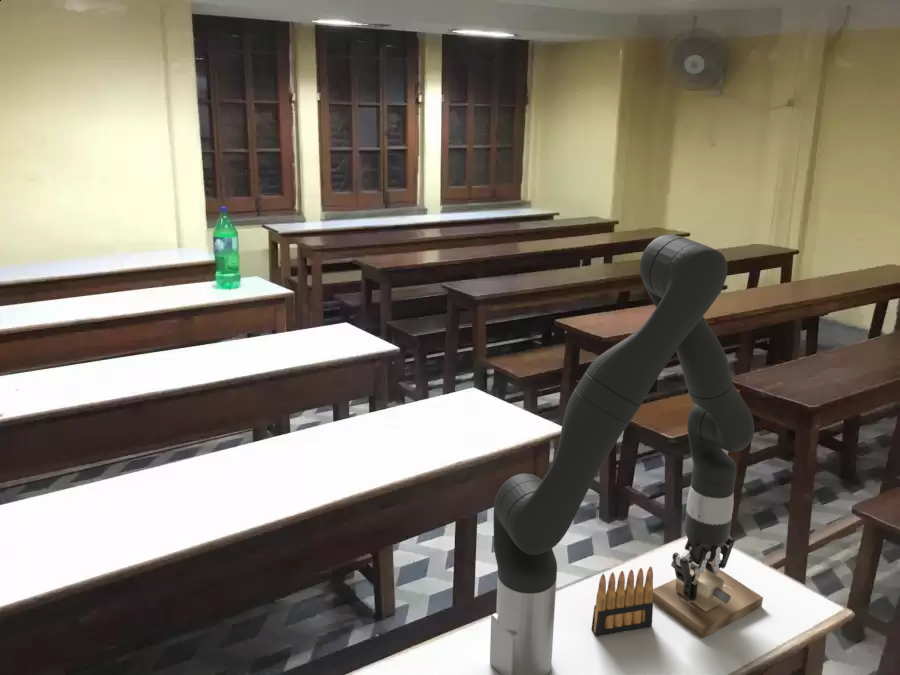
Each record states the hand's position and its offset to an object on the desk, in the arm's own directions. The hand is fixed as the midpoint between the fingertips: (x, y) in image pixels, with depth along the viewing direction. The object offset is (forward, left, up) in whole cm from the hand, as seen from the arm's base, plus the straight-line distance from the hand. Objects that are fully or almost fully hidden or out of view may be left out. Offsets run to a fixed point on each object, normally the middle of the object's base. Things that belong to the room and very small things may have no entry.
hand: (698, 593), depth 133 cm
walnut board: (+2, 0, -3) cm, 4 cm away
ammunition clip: (-16, +3, -3) cm, 16 cm away
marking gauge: (0, 0, -1) cm, 1 cm away
